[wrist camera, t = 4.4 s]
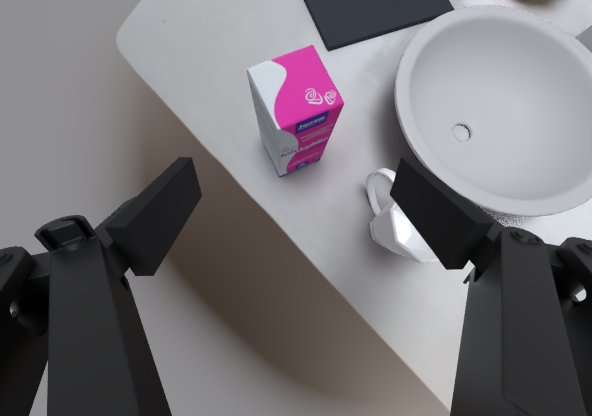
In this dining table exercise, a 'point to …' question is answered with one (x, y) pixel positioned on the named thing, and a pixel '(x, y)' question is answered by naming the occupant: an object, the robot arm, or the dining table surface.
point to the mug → (586, 38)
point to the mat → (369, 17)
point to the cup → (396, 226)
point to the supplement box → (294, 107)
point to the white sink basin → (500, 109)
